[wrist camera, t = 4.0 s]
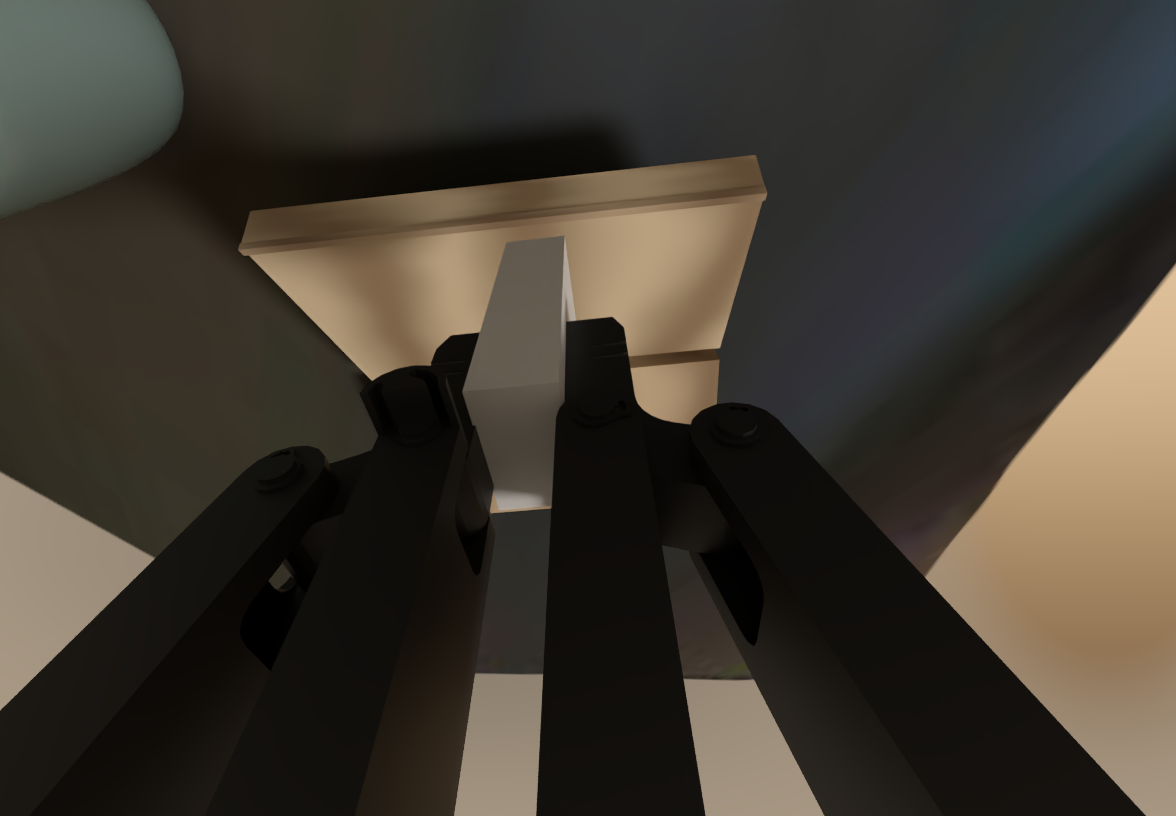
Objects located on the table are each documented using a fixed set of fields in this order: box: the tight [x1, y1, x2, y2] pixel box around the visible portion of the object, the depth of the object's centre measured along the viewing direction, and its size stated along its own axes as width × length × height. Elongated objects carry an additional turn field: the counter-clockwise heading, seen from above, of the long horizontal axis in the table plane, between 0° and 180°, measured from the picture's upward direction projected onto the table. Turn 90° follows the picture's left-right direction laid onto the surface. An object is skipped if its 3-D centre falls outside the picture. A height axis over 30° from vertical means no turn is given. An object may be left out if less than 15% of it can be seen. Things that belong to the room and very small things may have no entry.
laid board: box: [490, 348, 719, 513], centre depth 30 cm, size 18×11×2 cm, turn 96°
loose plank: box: [238, 155, 767, 381], centre depth 22 cm, size 18×10×2 cm, turn 96°
